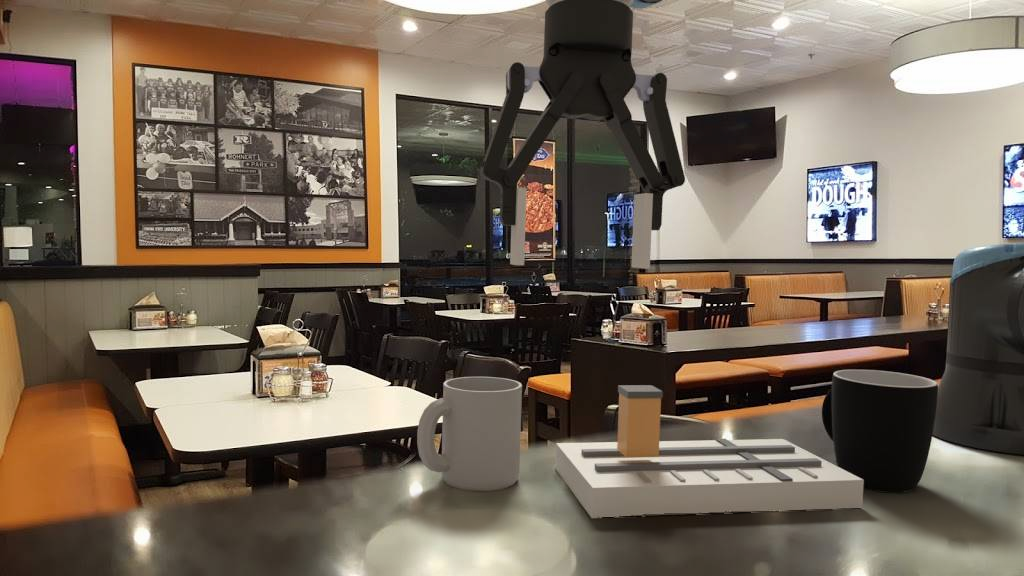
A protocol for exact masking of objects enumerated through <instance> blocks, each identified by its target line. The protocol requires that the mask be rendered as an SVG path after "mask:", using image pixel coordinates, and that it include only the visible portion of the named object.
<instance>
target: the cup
mask: <svg viewBox="0 0 1024 576" xmlns="http://www.w3.org/2000/svg"><path fill="white" fill-rule="evenodd" d="M442 387H443V388H442V389H443V391H442V393H443V394H442V397H440V398H438V399H435V400H434V401H431V402H430V403H429V404H428V405H427V406H426V407H425V408H424V410H423V412H422V414H421V415H420V418H419V421H418V426H417V432H416V434H417V436H416V439H417V440H416V444H417V450H418V455H419V458H420V460H421V461H422V464H423V466H425V467H426V468H427V469H428V470H430V471H431V472H435V473H441V476H442V479H443V481H444V482H445V483H446V484H447V485H449V486H451V487H452V488H455V489H459V490H464V491H469V492H492V491H493V492H494V491H499V490H504V489H507V488H510V487H512V486H513V485H514V484H516V482H517V481H518V479H519V477H520V467H521V466H520V465H521V435H522V400H523V399H522V398H523V397H522V394H523V385H522V383H521V382H520V381H518V380H513V379H510V378H504V377H495V376H463V377H456V378H450V379H447V380H444V382H443V386H442ZM441 417H442V432H441V433H442V435H441V436H442V437H441V454H440V453H438V452H437V449H436V444H435V434H436V428H437V424H438V421H439V420H440V418H441Z"/></svg>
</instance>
